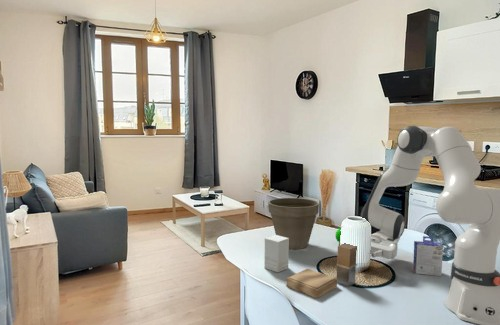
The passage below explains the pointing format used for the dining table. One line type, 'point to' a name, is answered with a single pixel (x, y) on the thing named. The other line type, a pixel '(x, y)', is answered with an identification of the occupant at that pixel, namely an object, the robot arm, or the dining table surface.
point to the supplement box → (276, 253)
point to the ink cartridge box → (428, 257)
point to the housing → (346, 264)
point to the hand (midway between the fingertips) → (361, 251)
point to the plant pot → (294, 219)
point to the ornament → (338, 235)
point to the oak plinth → (311, 283)
